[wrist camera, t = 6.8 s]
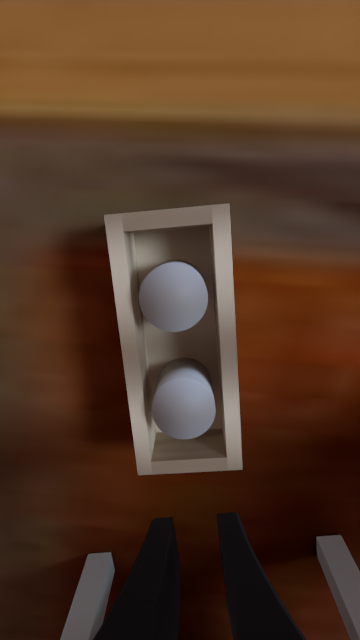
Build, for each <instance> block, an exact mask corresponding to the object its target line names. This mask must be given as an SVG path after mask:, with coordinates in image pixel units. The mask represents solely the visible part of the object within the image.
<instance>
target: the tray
mask: <svg viewBox="0 0 360 640" xmlns="http://www.w3.org/2000/svg"><path fill="white" fill-rule="evenodd" d="M104 220H105V228H106V235H107V243H108V251H109V258H110V266H111V273H112V281H113V289H114V296H115V304H116V311H117V319H118V327H119V334H120V342H121V349H122V357H123V365H124V372H125V380H126V388H127V395H128V403H129V410H130V418H131V426H132V433H133V441H134V448H135V456H136V464H137V471H138V475H153V474H171V473H190V472H209V471H227V470H243V467H242V447H241V426H240V406H239V386H238V366H237V346H236V325H235V305H234V285H233V265H232V245H231V224H230V204H229V203H228V204H218V205H207V206H196V207H185V208H175V209H164V210H153V211H142V212H132V213H121V214H110V215H104Z"/></svg>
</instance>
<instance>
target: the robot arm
mask: <svg viewBox="0 0 360 640" xmlns="http://www.w3.org/2000/svg"><path fill="white" fill-rule="evenodd" d="M217 520H218V531H219V540H220V549H221V557H222V565H223V574H224V582H225V590H226V599H227V606H228V611H229V617H230V623H231V628H232V634H233V639H234V640H306V639H305V637H304V636H303V634H302V633H301V631H300V630H299V628H298V627H297V625H296V624H295V622H294V621H293V619H292V618H291V616H290V614H289V613H288V611H287V610H286V608H285V607H284V605H283V603H282V602H281V600H280V598H279V597H278V595H277V593H276V592H275V590H274V588H273V586H272V585H271V583H270V581H269V579H268V578H267V576H266V574H265V572H264V570H263V568H262V566H261V564H260V563H259V561H258V559H257V557H256V555H255V553H254V551H253V549H252V546H251V544H250V542H249V540H248V538H247V535H246V533H245V530H244V528H243V525H242V522H241V519H240V515H239V514H237V513H236V512H232V513H219V514H217ZM180 609H181V567H180V561H179V554H178V548H177V542H176V535H175V529H174V522H173V517H170V518H157V519H154V520H153V521H152V522H151V525H150V528H149V530H148V533H147V535H146V538H145V540H144V543H143V545H142V548H141V550H140V552H139V554H138V557H137V559H136V561H135V563H134V565H133V567H132V569H131V571H130V573H129V576H128V578H127V580H126V582H125V584H124V586H123V588H122V590H121V591H120V593H119V595H118V597H117V599H116V601H115V602H114V604H113V606H112V608H111V610H110V612H109V613H108V615H107V617H106V619H105V620H104V622H103V624H102V626H101V627H100V629H99V631H98V632H97V634H96V636H95V637H94V639H93V640H178V634H179V621H180Z"/></svg>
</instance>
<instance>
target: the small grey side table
mask: <svg viewBox="0 0 360 640" xmlns="http://www.w3.org/2000/svg"><path fill="white" fill-rule="evenodd" d="M316 545H317V557H318V560H319V562H320V565H321V567H322V570H323V572H324V575H325V577H326V580H327V582H328V585H329V587H330V590H331V592H332V595H333V597H334V600H335V602H336V605H337V607H338V610H339V612H340V615H341V617H342V620H343V622H344V625H345V627H346V629H347V632H348V634H349V637H350V639H351V640H360V571H359V569H358V567H357V565H356V563H355V561H354V559H353V557H352V556H351V554H350V552H349V550H348V548H347V546H346V544H345V542H344V540H343V538H342V536H341V535H331V536H317V537H316ZM114 572H115V569H114V564H113V559H112V555H111V552H105V553H92V554H88V556H87V559H86V562H85V565H84V568H83V571H82V574H81V577H80V580H79V583H78V586H77V590H76V593H75V596H74V599H73V602H72V605H71V608H70V611H69V614H68V617H67V620H66V623H65V626H64V629H63V632H62V635H61V638H60V640H93V639H94V637H95V636H96V634H97V632H98V631H99V629H100V627H101V626H102V624H103V620H104V616H105V612H106V607H107V603H108V598H109V594H110V590H111V585H112V581H113V577H114Z"/></svg>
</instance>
